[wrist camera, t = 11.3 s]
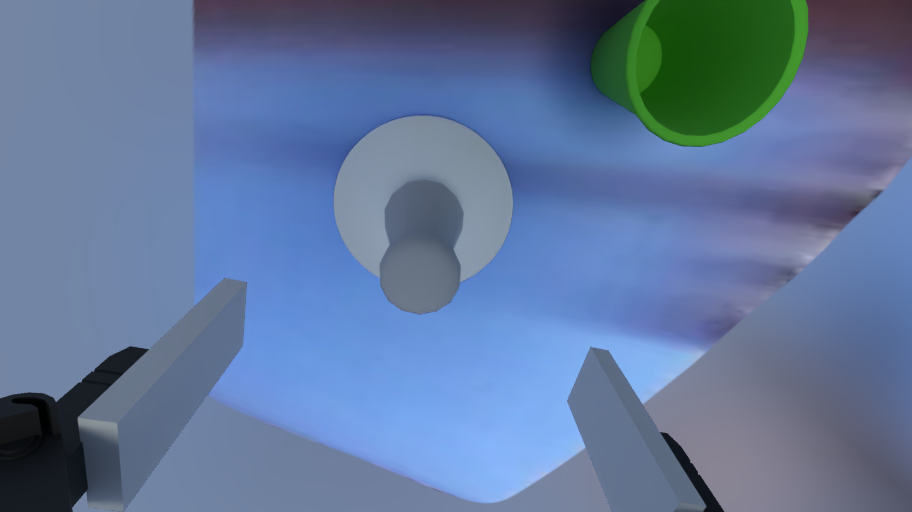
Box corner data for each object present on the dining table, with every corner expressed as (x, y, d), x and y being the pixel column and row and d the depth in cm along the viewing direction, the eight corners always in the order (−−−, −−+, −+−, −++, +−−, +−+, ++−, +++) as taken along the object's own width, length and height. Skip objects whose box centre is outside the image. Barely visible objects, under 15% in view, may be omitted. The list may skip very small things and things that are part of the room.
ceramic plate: (464, 80, 31) (466, 80, 30) (536, 240, 36) (539, 245, 35) (301, 167, 33) (297, 170, 31) (391, 307, 38) (390, 314, 37)
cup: (541, 97, 32) (593, 106, 21) (602, -36, 28) (696, -98, 18) (642, 144, 33) (734, 173, 23) (710, 23, 30) (850, -4, 20)
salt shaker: (432, 157, 32) (432, 205, 20) (475, 216, 34) (500, 292, 22) (371, 203, 33) (337, 274, 21) (417, 257, 35) (409, 351, 23)
